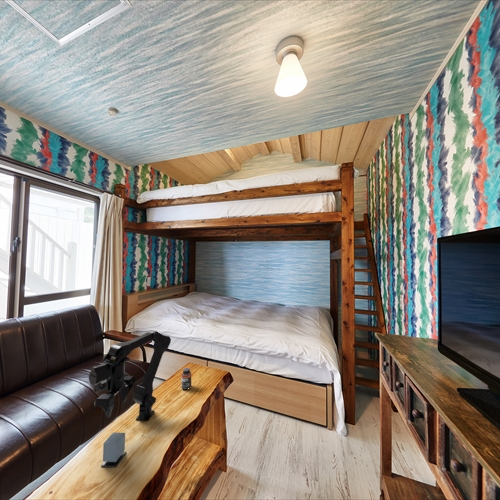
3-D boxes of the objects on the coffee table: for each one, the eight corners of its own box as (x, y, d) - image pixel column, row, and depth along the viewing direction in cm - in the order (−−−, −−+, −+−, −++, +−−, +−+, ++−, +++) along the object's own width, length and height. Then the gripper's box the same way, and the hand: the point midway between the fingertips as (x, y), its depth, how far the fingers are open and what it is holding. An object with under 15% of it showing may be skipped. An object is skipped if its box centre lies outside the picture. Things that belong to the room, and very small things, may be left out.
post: (112, 452, 86) (112, 433, 86) (126, 453, 85) (127, 433, 86) (100, 466, 80) (101, 445, 80) (116, 467, 79) (116, 446, 80)
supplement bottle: (187, 384, 135) (188, 365, 136) (193, 387, 131) (193, 368, 132) (179, 388, 130) (179, 369, 131) (184, 391, 126) (185, 372, 127)
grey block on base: (112, 449, 85) (113, 432, 86) (124, 450, 85) (125, 432, 86) (102, 461, 80) (103, 443, 81) (115, 462, 80) (116, 443, 80)
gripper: (114, 363, 105) (113, 396, 103) (82, 384, 86) (80, 425, 85) (136, 364, 104) (135, 397, 103) (108, 385, 85) (107, 426, 84)
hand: (115, 409), depth 94 cm, fingers open, 9 cm apart
